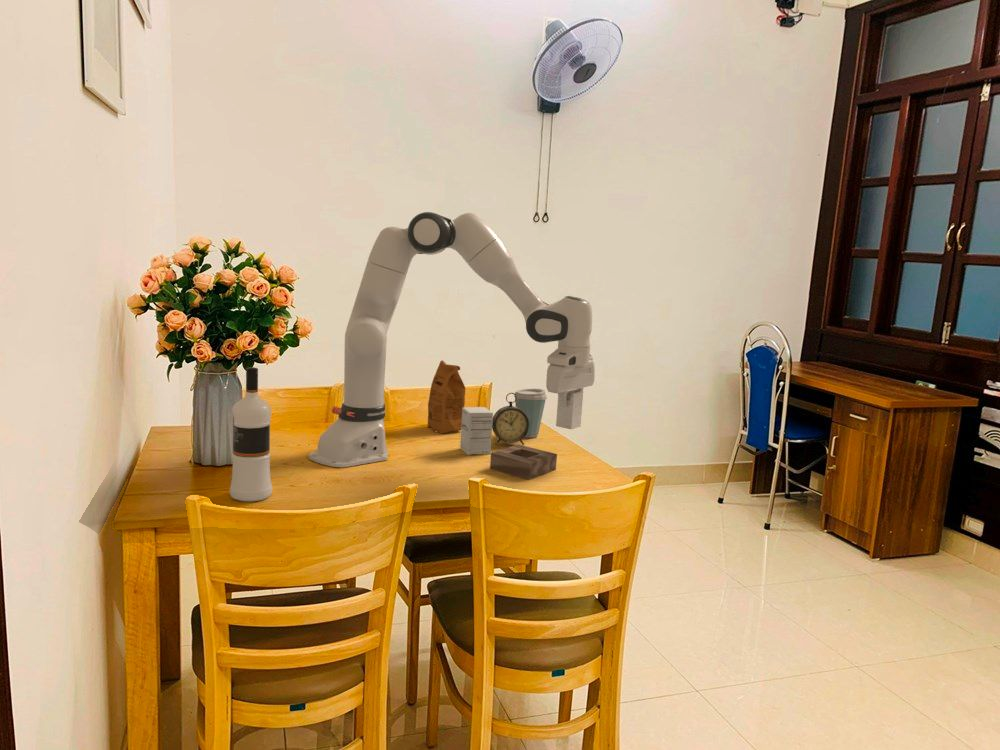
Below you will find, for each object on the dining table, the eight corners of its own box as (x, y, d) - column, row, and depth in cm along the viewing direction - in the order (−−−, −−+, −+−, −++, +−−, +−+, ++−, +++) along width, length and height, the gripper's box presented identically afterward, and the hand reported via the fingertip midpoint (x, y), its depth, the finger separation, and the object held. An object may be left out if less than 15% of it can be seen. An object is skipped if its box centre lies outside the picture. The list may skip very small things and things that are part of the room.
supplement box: (459, 448, 225) (461, 406, 223) (483, 447, 228) (485, 406, 225) (466, 455, 218) (469, 412, 216) (491, 454, 221) (493, 412, 219)
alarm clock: (492, 446, 229) (496, 394, 226) (489, 442, 234) (492, 390, 232) (527, 446, 232) (531, 394, 229) (523, 442, 237) (527, 391, 234)
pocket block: (529, 479, 199) (530, 463, 198) (490, 468, 207) (490, 452, 206) (555, 469, 210) (557, 453, 209) (517, 459, 217) (518, 444, 216)
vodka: (266, 503, 170) (268, 372, 165) (224, 502, 169) (224, 370, 164) (276, 490, 179) (277, 365, 174) (236, 488, 179) (236, 363, 173)
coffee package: (450, 423, 254) (453, 359, 251) (466, 432, 244) (470, 365, 240) (422, 425, 249) (425, 359, 246) (438, 435, 239) (442, 366, 235)
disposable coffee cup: (515, 439, 239) (519, 393, 236) (507, 431, 249) (510, 386, 247) (548, 439, 242) (551, 393, 239) (538, 431, 252) (541, 386, 249)
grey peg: (571, 429, 209) (573, 393, 207) (556, 426, 212) (558, 391, 210) (580, 426, 213) (583, 391, 211) (565, 423, 216) (567, 388, 214)
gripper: (582, 351, 219) (579, 398, 221) (543, 357, 203) (540, 408, 205) (601, 354, 215) (598, 402, 218) (563, 360, 199) (560, 412, 201)
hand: (569, 405), depth 211 cm, fingers closed on grey peg, 5 cm apart
